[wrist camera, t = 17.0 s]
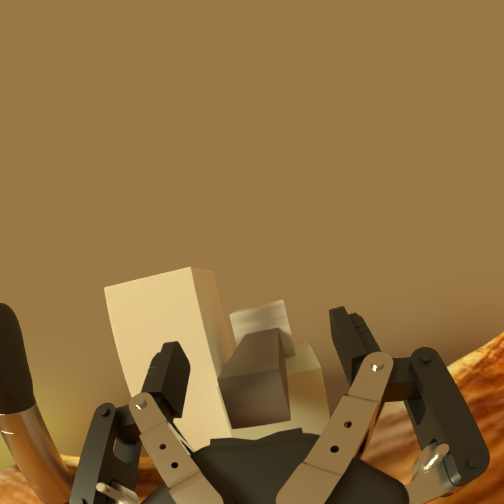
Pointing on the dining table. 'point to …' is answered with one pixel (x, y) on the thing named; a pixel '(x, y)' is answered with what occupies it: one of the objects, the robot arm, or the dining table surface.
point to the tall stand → (175, 329)
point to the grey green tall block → (296, 398)
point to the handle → (258, 367)
